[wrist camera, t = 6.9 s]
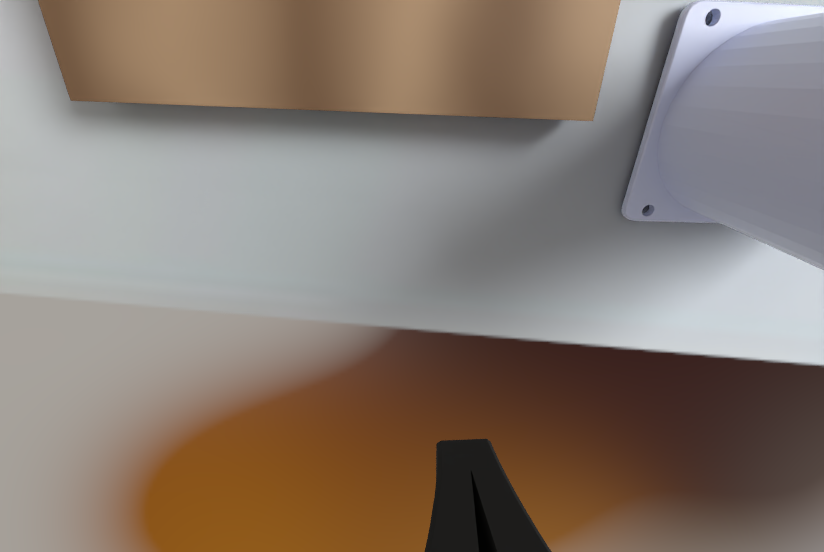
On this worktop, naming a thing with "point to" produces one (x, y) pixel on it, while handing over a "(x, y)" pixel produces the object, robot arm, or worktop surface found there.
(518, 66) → the tan flat block
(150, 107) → the worktop surface
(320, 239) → the worktop surface
